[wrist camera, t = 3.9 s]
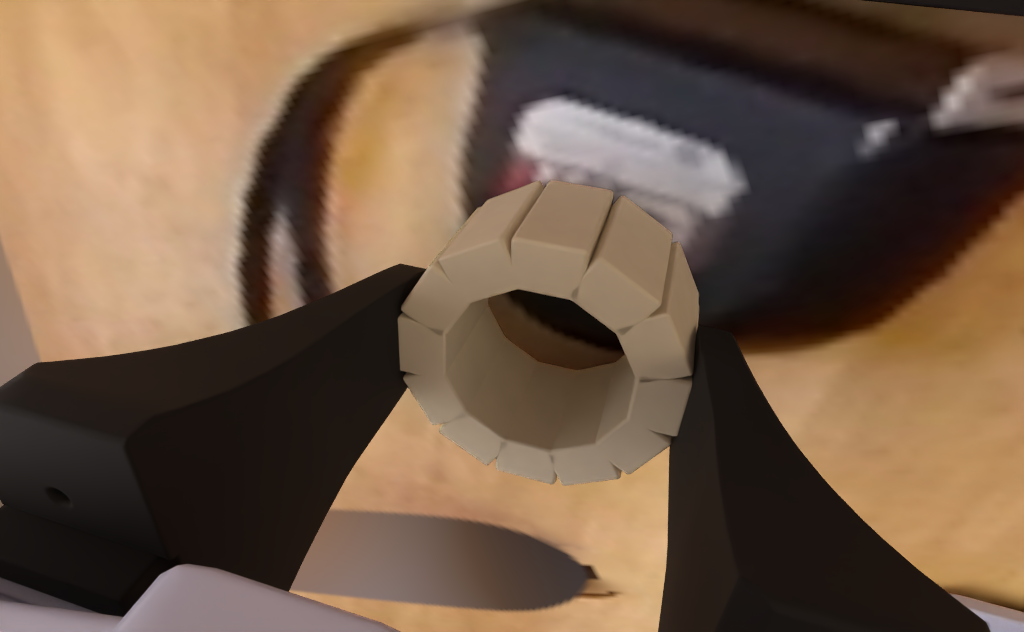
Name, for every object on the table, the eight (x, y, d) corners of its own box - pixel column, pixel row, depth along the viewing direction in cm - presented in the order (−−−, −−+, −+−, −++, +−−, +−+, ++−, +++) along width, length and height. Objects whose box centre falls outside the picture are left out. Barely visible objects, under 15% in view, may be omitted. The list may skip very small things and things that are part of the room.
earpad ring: (726, 207, 12) (726, 278, 10) (667, 423, 15) (656, 514, 13) (449, 161, 13) (390, 214, 11) (447, 371, 16) (402, 446, 14)
